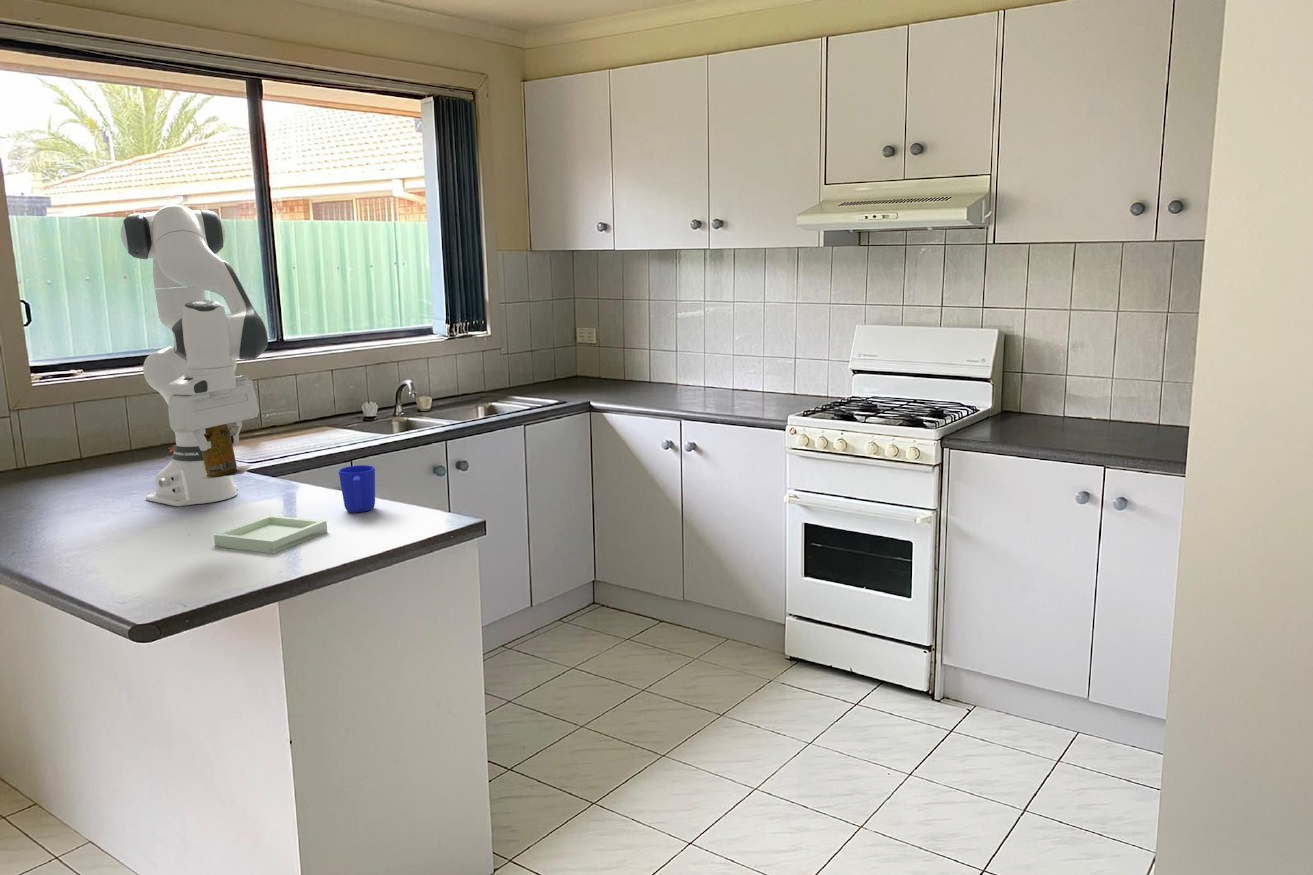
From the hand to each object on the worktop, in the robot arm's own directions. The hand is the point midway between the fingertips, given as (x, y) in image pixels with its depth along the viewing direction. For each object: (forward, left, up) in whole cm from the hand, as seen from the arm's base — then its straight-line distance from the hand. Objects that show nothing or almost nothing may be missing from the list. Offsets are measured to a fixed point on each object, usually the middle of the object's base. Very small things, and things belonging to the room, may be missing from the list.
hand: (219, 446), depth 207 cm
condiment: (0, +1, -6) cm, 6 cm away
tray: (+6, +6, -21) cm, 23 cm away
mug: (+10, +30, -21) cm, 38 cm away
